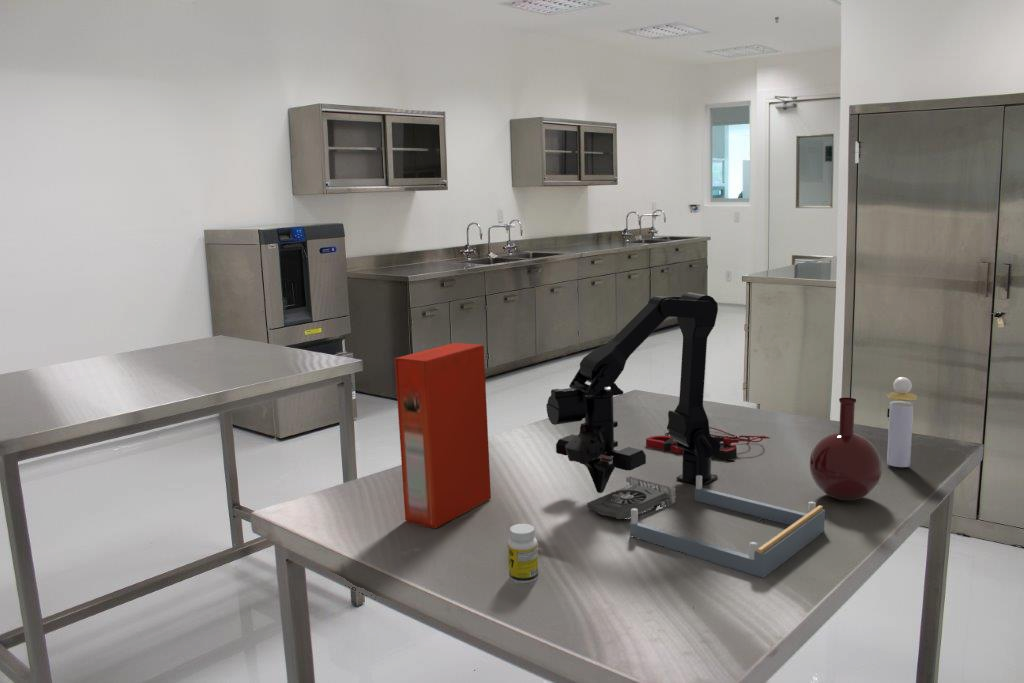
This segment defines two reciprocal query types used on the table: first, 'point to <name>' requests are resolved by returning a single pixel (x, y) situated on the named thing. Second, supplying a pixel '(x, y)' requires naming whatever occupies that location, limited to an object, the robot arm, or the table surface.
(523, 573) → the supplement bottle
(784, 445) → the table surface
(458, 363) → the file binder
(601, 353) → the robot arm
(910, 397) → the perfume bottle
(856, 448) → the round-bottom flask
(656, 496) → the graphics card
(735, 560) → the frame
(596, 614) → the table surface
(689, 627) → the table surface
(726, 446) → the digital clamp meter
